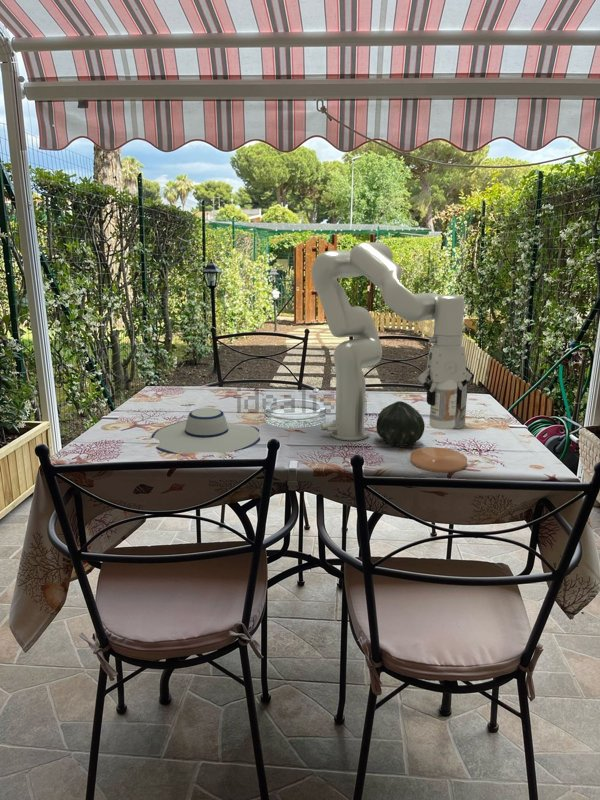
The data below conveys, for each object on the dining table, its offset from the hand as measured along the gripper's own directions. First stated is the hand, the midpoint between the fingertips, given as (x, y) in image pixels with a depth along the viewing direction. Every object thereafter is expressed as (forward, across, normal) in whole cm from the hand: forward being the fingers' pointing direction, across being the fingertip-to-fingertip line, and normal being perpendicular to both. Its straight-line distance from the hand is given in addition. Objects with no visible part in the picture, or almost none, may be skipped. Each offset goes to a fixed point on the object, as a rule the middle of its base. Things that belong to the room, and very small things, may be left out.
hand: (443, 403), depth 156 cm
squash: (+18, -4, +18) cm, 26 cm away
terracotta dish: (+18, 0, 0) cm, 18 cm away
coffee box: (+18, +21, +31) cm, 42 cm away
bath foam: (+7, 0, 0) cm, 7 cm away
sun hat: (+18, -63, +39) cm, 77 cm away
